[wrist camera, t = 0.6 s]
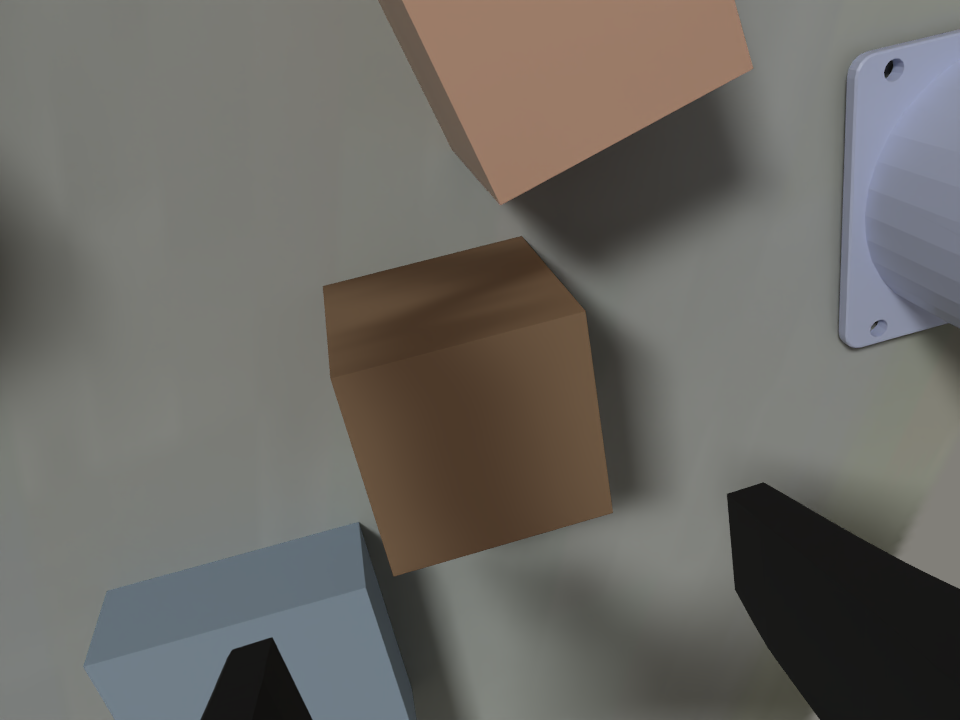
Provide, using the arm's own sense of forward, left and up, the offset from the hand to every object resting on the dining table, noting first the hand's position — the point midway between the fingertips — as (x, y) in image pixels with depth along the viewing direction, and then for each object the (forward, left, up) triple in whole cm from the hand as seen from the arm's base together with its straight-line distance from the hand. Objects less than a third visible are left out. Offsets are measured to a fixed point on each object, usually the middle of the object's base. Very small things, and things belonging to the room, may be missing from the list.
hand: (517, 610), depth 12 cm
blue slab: (+7, +8, -10) cm, 14 cm away
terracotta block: (-3, -8, -10) cm, 13 cm away
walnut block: (0, 0, -10) cm, 10 cm away
